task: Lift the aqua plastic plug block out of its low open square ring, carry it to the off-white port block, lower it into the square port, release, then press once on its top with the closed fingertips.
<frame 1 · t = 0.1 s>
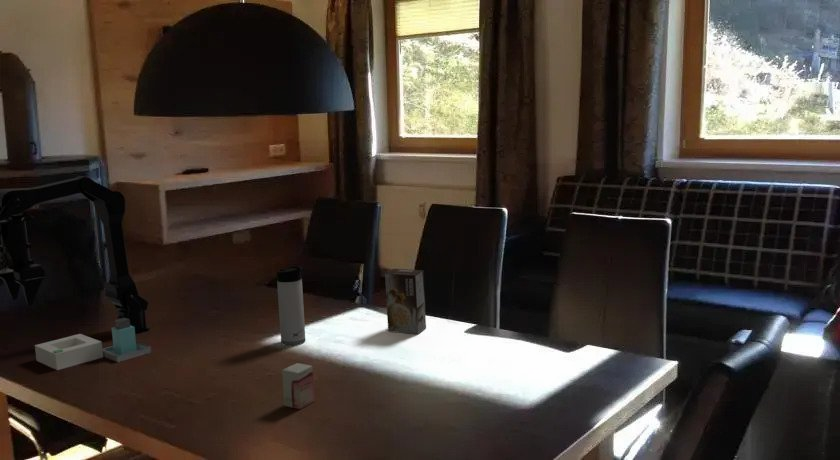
hand: (22, 302, 192), 15 cm above the table, fingers open, 9 cm apart
small box: (299, 404, 160), on the table
travel mug: (294, 342, 201), on the table
port: (70, 358, 193), on the table
coffee box: (407, 330, 208), on the table
open square ring: (125, 353, 196), on the table
plug: (125, 354, 196), resting in open square ring
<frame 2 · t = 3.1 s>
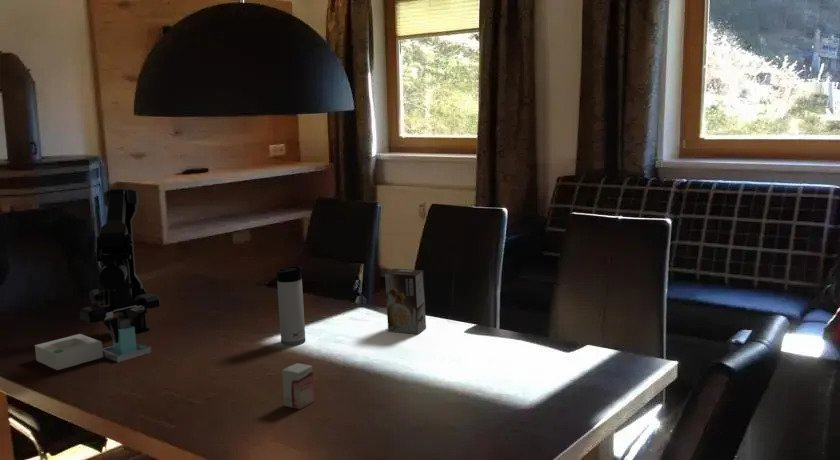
hand: (124, 340, 195), 4 cm above the table, fingers closed on plug, 4 cm apart
plug: (125, 353, 196), resting in open square ring, touching gripper
everything else where it was.
when the fingers open (5 cm above the table, at t = 7.6 s): plug drops 2 cm, resting in port.
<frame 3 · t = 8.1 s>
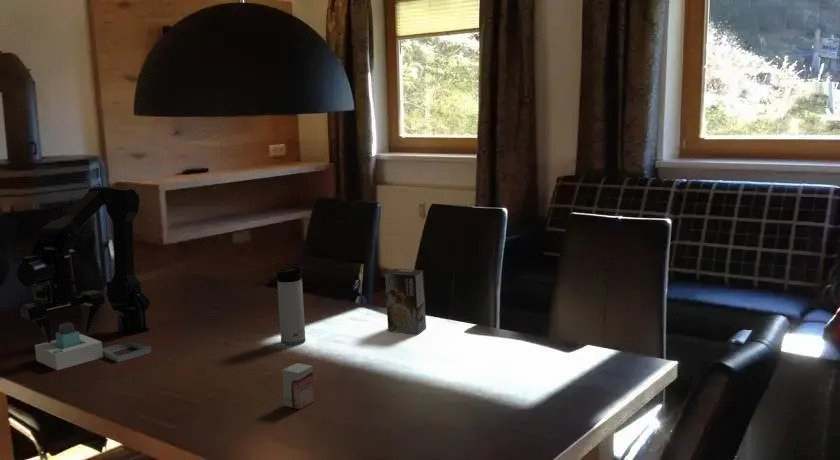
hand: (67, 337, 192), 5 cm above the table, fingers open, 9 cm apart
plug: (70, 359, 193), resting in port
everything else where it was.
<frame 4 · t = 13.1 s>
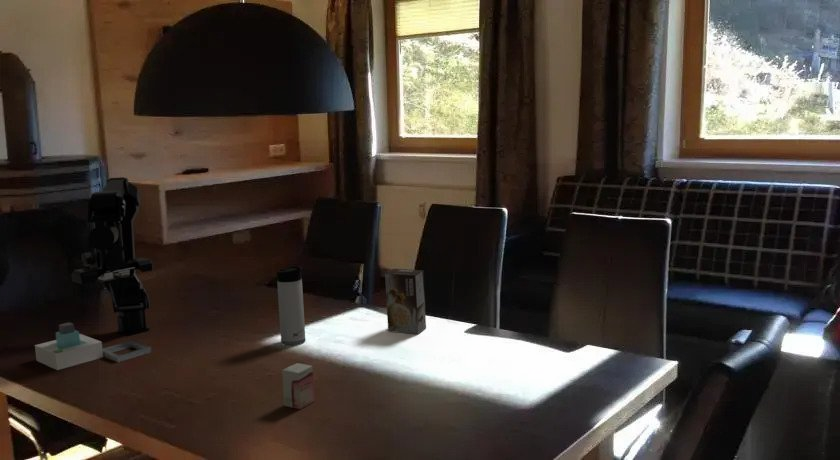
hand: (116, 303, 194), 13 cm above the table, fingers closed
nothing on the table moved.
at the end: plug 0.1 cm off-centre on the port, point 0.0 cm above the port's base; plug tilted 0°; the gripper is holding nothing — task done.
